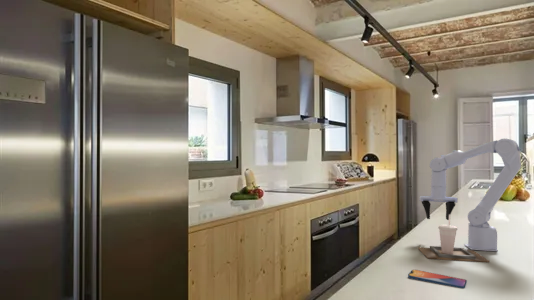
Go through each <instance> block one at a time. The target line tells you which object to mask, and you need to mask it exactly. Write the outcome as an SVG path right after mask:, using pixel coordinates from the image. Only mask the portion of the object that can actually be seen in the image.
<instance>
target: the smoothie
mask: <svg viewBox="0 0 534 300" xmlns="http://www.w3.org/2000/svg"><path fill="white" fill-rule="evenodd" d="M437 229H438V231H439V241H440V247H441V250H442V253H445V254H453V249H454V247H455V242H456V236H457V231H458V227H457V226H455V225H451V215H450V214H449V220H448V224H438V228H437Z"/></svg>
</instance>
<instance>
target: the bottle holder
mask: <svg viewBox="0 0 534 300" xmlns="http://www.w3.org/2000/svg"><path fill="white" fill-rule="evenodd" d="M417 249H418V250H419V252H420V253H421V254H423V256H424V257H425V258H426V259H427V260H428V259H429V260H439V261H440V260H442V261H443V260H445V261H458V262H460V261H461V262H473V263H475V262H476V263H477V262H478V263H490V260H489V259H488V258H486V257H484V256H483V255H481V254H480V253H478V252H476V250H471V249H465V247H456V246H454V249H453V254H445V253H442V250H441V245H439V246H437V245H429V247H421V246H419V247H417Z"/></svg>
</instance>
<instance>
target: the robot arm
mask: <svg viewBox="0 0 534 300" xmlns="http://www.w3.org/2000/svg"><path fill="white" fill-rule="evenodd" d="M489 153H491V154H498V155H499V157H501V160H502V163H503V165H504V167H503V168H502V170H501V171H500V172H499V174H498V175H497V177H496V178H495V180H494V181H493V182H492V185H490V187H489V189H488V190H487V192H486V193H485V195H484V196H483V198H482V199H481V200H480V201H479V203H478V204H477V205H476V206H475V207H474V208H473V209H471V210H470V211H469V212H468V213H467V220H468V222H469V223H468V233H467V235H468V236H467V238H468V239H467V243H464V244H463V245H464V246H465V247H466V248H468V249H469V250H474V251H486V252H487V251H488V252H498V251H499V250H498V231H497V228H496V227H495V226H492V225H491V226H490V223H489V222H488V221H490V219H491V214H492V212H493V210H494V208H495V206H496V204H497V203H498V201H499V200H500V199H501V198H502V196H503V194H504V193H505V191H506V189H508V187H509V186H510V184H511V183H512V181H513V180H514V179H515V177H516V176H517V174H518V172H520V170H521V167H522V160H521V159H522V158H521V149H520V147H519V144H518V143H517V142H516V141H515V140H513V139H511V138H500V139H499V140H492V141H488V142H485V143H482V144H480V145H477V146H476V147H475V146H474V147H472V148H471V149H468V150H465V151H462V150H460V149H459V150H456V149H454V150H451V152H449V153H448V154H441V155H440V157H439V156H437V157H434V158H432V159H431V160H430V162H429V167H430V169H431V175H430V177H431V178H430V195H428V196H427V195H425V196H424V195H420V196H419V202H421V204H422V206H423V208H424V212H425V215H426V219H427V220H430V219H431V213H430V212H431V202H435V203H436V202H440V203H445V211H446V212H445V220H447V221H449V214H450V216H451V215H452V212H453V210H454V209H455V207H456V203H458V197H456V196H455V197H452V196H447V170H448V169H452V168H456V167H458V166H461V165H464V164H465V163H466V162H467V160H469V159H471V158H474V157H478V156H480V155H484V154H489Z"/></svg>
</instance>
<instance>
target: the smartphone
mask: <svg viewBox="0 0 534 300" xmlns="http://www.w3.org/2000/svg"><path fill="white" fill-rule="evenodd" d="M407 277H408V279H411V280H417V281H420V282H427V283H431V284H437V285H442V286H447V287H453V288H458V289H465V288H466V287H467V282H468V281H467V279H464V278H459V277H454V276H450V275H444V274H440V273H435V272H429V271H424V270H419V269H411V271H410V272H409V273H408V275H407Z"/></svg>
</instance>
